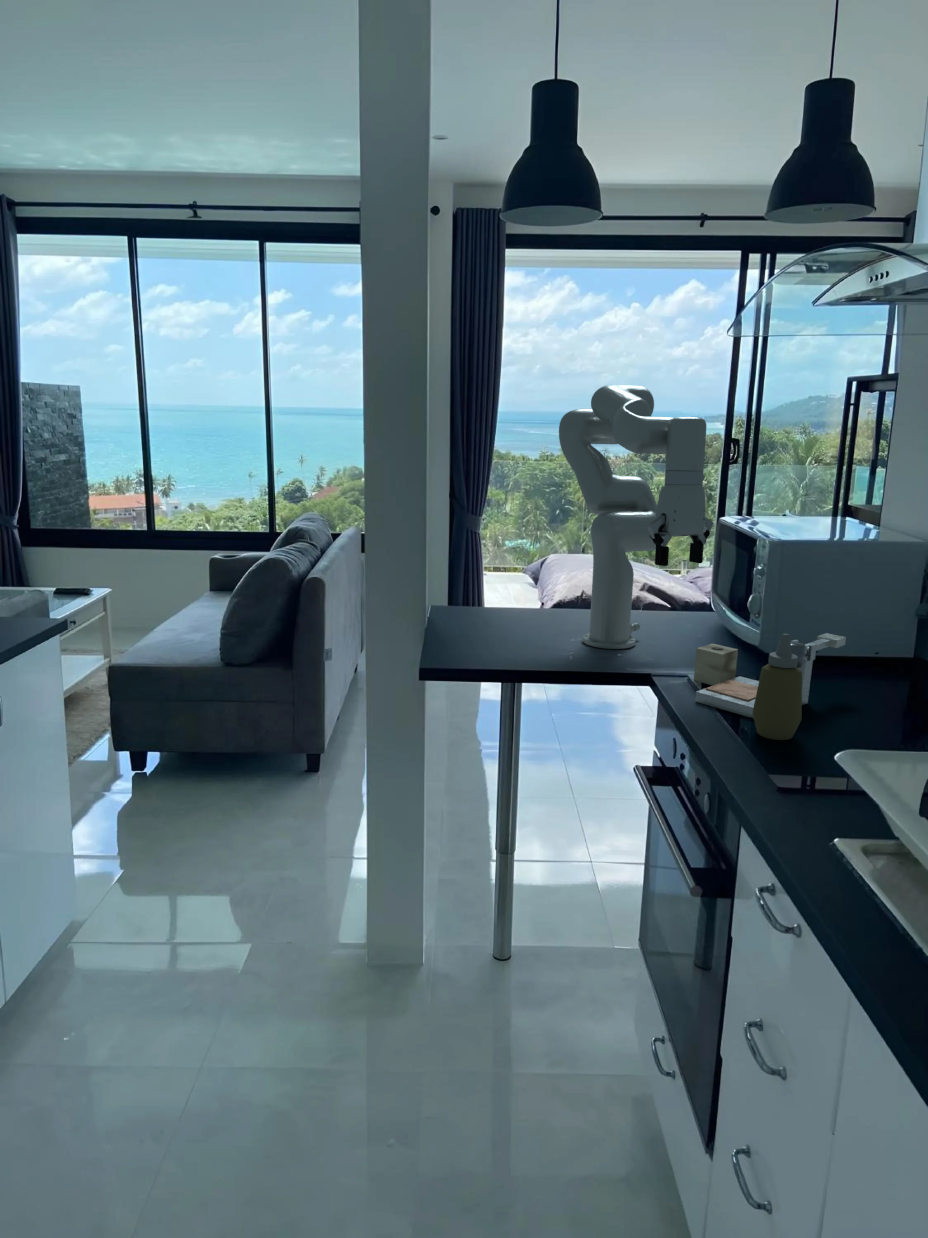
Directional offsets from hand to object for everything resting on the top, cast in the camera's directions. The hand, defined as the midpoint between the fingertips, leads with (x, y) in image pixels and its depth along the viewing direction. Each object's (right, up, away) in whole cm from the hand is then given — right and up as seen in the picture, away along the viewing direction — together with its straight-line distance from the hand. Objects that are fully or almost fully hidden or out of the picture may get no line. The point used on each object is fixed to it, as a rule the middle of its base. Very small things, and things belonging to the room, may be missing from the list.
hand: (678, 563), depth 178 cm
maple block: (+8, -24, +2) cm, 26 cm away
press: (+11, -27, -11) cm, 31 cm away
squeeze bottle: (+10, -32, -28) cm, 43 cm away
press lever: (+23, -19, -10) cm, 31 cm away
